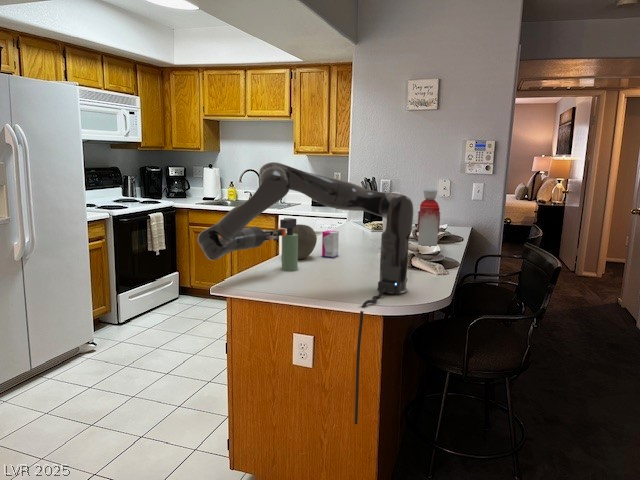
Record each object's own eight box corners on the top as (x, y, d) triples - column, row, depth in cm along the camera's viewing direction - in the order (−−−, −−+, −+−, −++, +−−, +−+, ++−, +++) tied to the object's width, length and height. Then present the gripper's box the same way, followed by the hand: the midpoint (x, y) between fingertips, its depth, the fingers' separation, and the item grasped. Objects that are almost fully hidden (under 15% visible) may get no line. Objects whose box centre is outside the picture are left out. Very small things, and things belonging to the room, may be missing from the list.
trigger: (283, 236, 187) (283, 229, 187) (278, 235, 189) (278, 228, 188) (285, 235, 188) (285, 229, 188) (280, 235, 190) (280, 228, 189)
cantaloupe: (312, 262, 206) (313, 227, 203) (280, 260, 209) (280, 226, 206) (319, 256, 220) (319, 223, 217) (288, 254, 222) (289, 221, 220)
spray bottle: (287, 272, 189) (288, 221, 185) (275, 269, 193) (275, 219, 189) (300, 268, 195) (301, 219, 191) (288, 266, 199) (289, 217, 195)
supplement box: (338, 255, 221) (339, 231, 219) (333, 258, 215) (334, 232, 213) (326, 254, 223) (327, 229, 221) (321, 257, 218) (322, 231, 216)
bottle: (438, 255, 225) (442, 190, 220) (415, 254, 227) (419, 190, 222) (437, 249, 239) (441, 188, 234) (416, 248, 241) (419, 187, 236)
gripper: (261, 229, 169) (293, 224, 183) (234, 225, 177) (267, 221, 190) (261, 251, 170) (293, 244, 184) (235, 246, 178) (267, 239, 192)
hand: (280, 232), depth 187 cm, fingers closed
